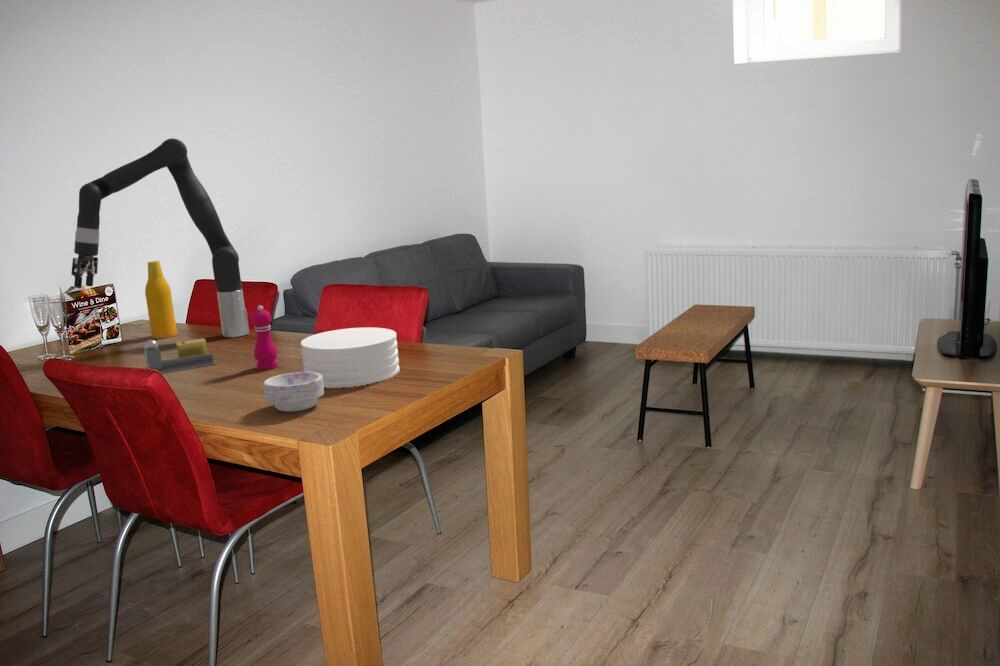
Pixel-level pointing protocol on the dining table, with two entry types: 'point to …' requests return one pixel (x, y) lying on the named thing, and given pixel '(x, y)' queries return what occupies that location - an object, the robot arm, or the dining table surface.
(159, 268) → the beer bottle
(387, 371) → the plate stack
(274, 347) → the pepper mill
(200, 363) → the grey fixture stand
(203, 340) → the yellow block
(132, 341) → the dining table surface
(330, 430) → the dining table surface
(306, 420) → the dining table surface
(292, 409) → the paper bowls
